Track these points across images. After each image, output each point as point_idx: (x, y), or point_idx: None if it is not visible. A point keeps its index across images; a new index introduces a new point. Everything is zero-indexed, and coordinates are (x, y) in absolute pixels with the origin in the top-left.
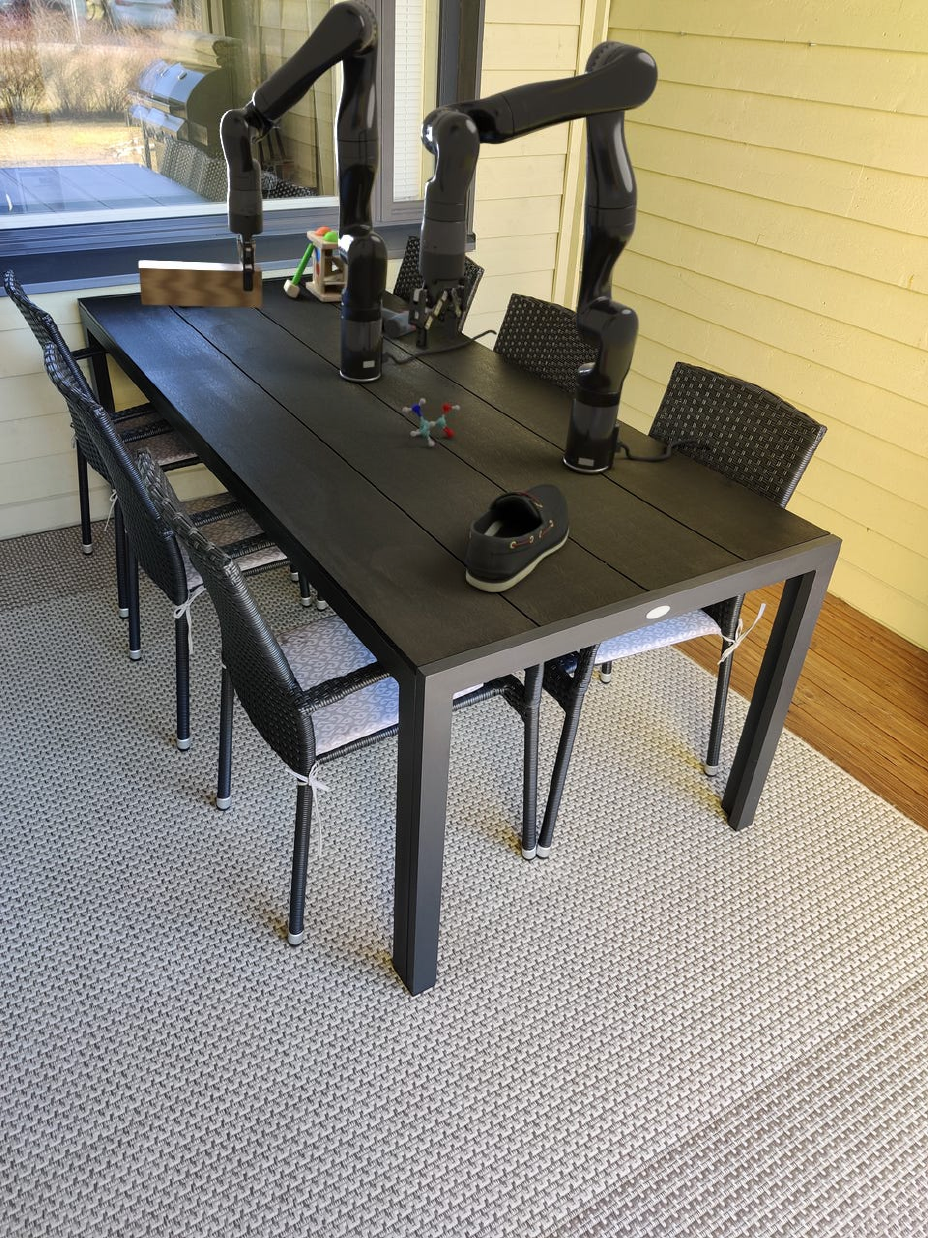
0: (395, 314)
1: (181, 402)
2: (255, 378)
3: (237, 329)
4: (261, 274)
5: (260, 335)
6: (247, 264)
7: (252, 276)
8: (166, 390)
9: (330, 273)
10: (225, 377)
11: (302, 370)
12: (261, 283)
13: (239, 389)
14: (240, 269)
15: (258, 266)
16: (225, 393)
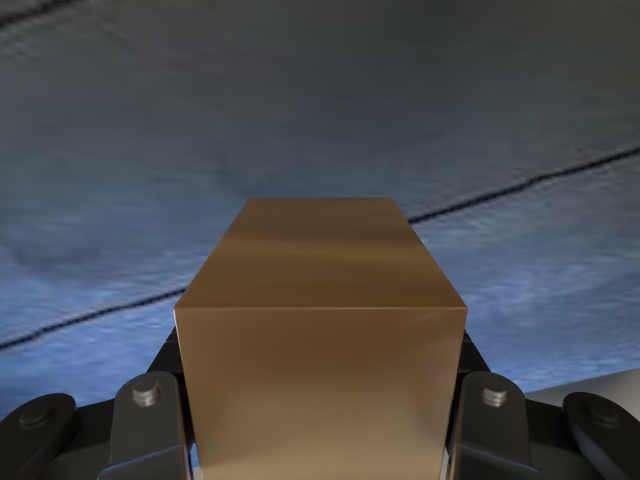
0: None
1: (601, 361)
2: (487, 185)
3: (41, 209)
4: (455, 293)
5: (84, 137)
6: (200, 418)
7: (463, 362)
8: (520, 386)
9: None
10: (463, 264)
11: (443, 12)
12: (429, 255)
13: (560, 235)
14: (393, 477)
15: (258, 326)
16: (577, 270)
